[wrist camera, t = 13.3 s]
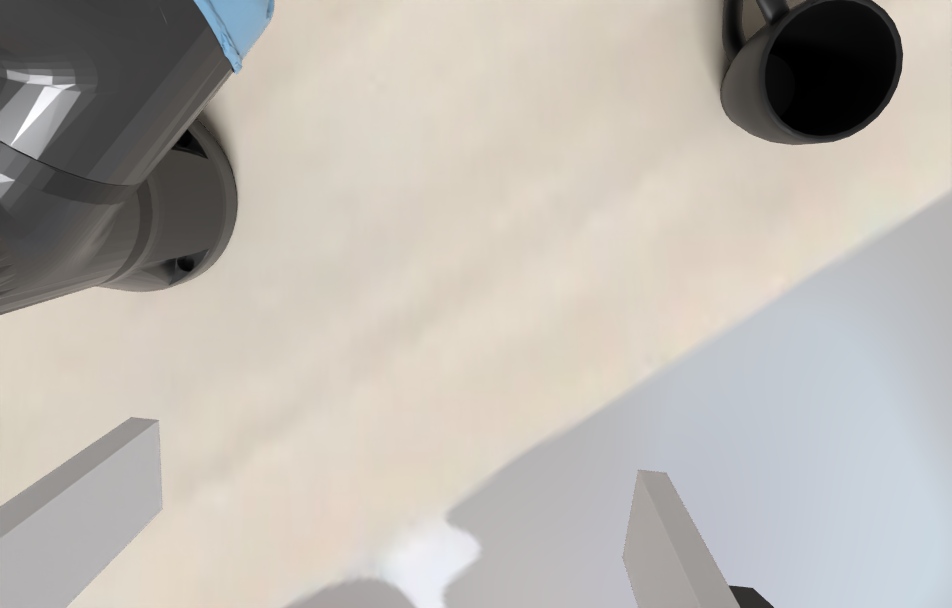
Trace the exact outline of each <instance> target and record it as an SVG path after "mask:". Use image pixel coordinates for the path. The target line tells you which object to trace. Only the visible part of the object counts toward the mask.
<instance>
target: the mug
mask: <svg viewBox="0 0 952 608" xmlns="http://www.w3.org/2000/svg"><path fill="white" fill-rule="evenodd" d="M756 2H757V4H758V6H759V8H760V10H761V12H762V14H763V16H764V18H765V20H766V23H767V24H766V25H764V26H763V27H762V28H761V29H760V30H759V31H758V32H757V33H756V34H754V35H753V36H752V37H751V38H750V39H749V40H748V41H747V42H746V40H745V37H744V34H743V29H742V8H743V0H724V8H723V26H722V38H723V46H724V50H725V53H726V55H727V57H728V59H729V61H730V62H731V66H730V68H729V70H728V71H727V72H726V75H725V77H724V79H723V82H722V86H721V103H722V107H723V109H724V111H725V113H726V115H727V116H728V117H729V119H730V120H731V121H732V122H734V123H735V124H736V125H738V126H740V127H741V128H742V129H744V130H745V131H747V132H748V133H750V134H752V135H754V136H756V137H759V138H762V139H764V140H767V141H770V142H775V143H782V144H790V145H802V144H815V143H826V142H834V141H837V140H841V139H844V138H847V137H850V136H851V135H853V134H855V133H857V132H858V131H860V130H862V129H864V128H865V127H866V126H867V125H869V124H870V123H871V122H872V121H873V120H874V119H876V118H877V117H878V116H879V115H880V113H881V112H882V111H883V110H884V108H885V107H886V106H887V104H888V103H889V102H890V100H891V98H892V96H893V94H894V92H895V90H896V88H897V86H898V82H899V79H900V75H901V72H902V61H903V50H902V44H901V37H900V35H899V33H898V30H897V28H896V25H895V23H894V22H893V20H892V19H891V18H890V16H889V15H888V14H887V12H886V11H885V10H884V9H883V8H881V7H880V6H879V5H877V4H876V3H875V2H873V1H872V0H806V1H805V2H803V3H801V4H799V5H797V6H795V7H793V8H792V9H790V10H789V7H788V5H787V2H786V0H756Z"/></svg>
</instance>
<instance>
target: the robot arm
mask: <svg viewBox="0 0 952 608" xmlns="http://www.w3.org/2000/svg"><path fill="white" fill-rule="evenodd" d="M273 12H274V0H0V315H2V314H5V313H9V312H12V311H15V310H19V309H22V308H25V307H28V306H32V305H35V304H38V303H42V302H45V301H48V300H51V299H55V298H58V297H61V296H65V295H68V294H71V293H75V292H78V291H81V290H84V289H88V288H91V287H94V286H97V287H104V288H110V289H117V290H124V291H132V292H148V291H157V290H163V289H167V288H170V287H173V286H176V285H178V284H181V283H184V282H187V281H189V280H191V279H193V278H195V277H197V276H199V275H200V274H202V273H203V272H205V271H206V270H207V269H208V268H210V267H211V266H212V265H213V264H214V263H215V262H216V261H217V259H218V258H219V257H220V256H221V254H222V253H223V251H224V250H225V248H226V246H227V244H228V242H229V240H230V238H231V235H232V232H233V229H234V225H235V220H236V212H237V195H236V188H235V182H234V178H233V174H232V171H231V168H230V166H229V163H228V161H227V159H226V157H225V155H224V153H223V151H222V149H221V148H220V146H219V145H218V143H217V142H216V140H215V139H214V138H213V136H212V135H211V134H210V133H209V131H208V130H207V129H206V128H205V127H204V126H203V125H202V124H201V123H200V122H199V121H197V120H196V117H197V116H198V115H199V114H200V112H201V111H202V110H203V109H204V107H205V106H206V105H207V104H208V102H209V101H210V100H211V99H212V98H213V96H214V95H215V94H216V93H217V91H218V90H219V89H220V88H221V86H222V85H223V84H224V83H225V81H226V80H227V79H228V78H229V76H230V75H231V74H232V73H233V72H234V73H235V74H237V73H238V72H239V71H240V70H241V68H242V60H243V59H244V57H245V56H246V54H247V53H248V52H249V50H250V49H251V48H252V46H253V45H254V43H255V42H256V41H257V39H258V38H259V37H260V35H261V34H262V33H263V31H264V30H265V28H266V27H267V26H268V24H269V22H270V20H271V18H272V16H273ZM161 510H162V487H161V462H160V438H159V420H153V419H143V418H133V417H131V418H129V419H128V420H126V421H125V422H124V423H122V424H121V425H119V426H118V427H116V428H115V429H113V430H112V431H110V432H109V433H107V434H106V435H105V436H103V437H102V438H100V439H99V440H97V441H96V442H94V443H93V444H91V445H90V446H88V447H87V448H85V449H84V450H83V451H81V452H80V453H78V454H77V455H75V456H74V457H72V458H71V459H69V460H68V461H66V462H65V463H63V464H62V465H61V466H59V467H58V468H56V469H55V470H53V471H52V472H50V473H49V474H47V475H46V476H44V477H43V478H42V479H40V480H39V481H37V482H36V483H34V484H33V485H31V486H30V487H28V488H27V489H25V490H24V491H22V492H21V493H20V494H18V495H17V496H15V497H14V498H12V499H11V500H9V501H8V502H6V503H5V504H3V505H2V506H1V507H0V608H66V607H67V606H68V605H69V604H70V603H71V602H72V601H73V600H74V599H75V598H76V597H77V596H78V595H79V594H80V593H81V592H82V591H83V590H84V589H85V588H86V586H87V585H88V584H89V583H90V582H91V581H92V580H93V579H94V578H95V577H96V576H97V575H98V574H99V573H100V572H101V571H102V570H103V569H104V568H105V567H106V566H107V565H108V564H109V563H110V562H111V561H112V560H113V559H114V558H115V557H116V556H117V555H118V554H119V553H120V552H121V551H122V550H123V549H124V548H125V547H126V546H127V545H128V544H129V543H130V542H131V541H132V540H133V539H134V538H135V537H136V536H137V535H138V533H139V532H140V531H141V530H142V529H143V528H144V527H145V526H146V525H147V524H148V523H149V522H150V521H151V520H152V519H153V518H154V517H155V516H156V515H157V514H158V513H159V512H160V511H161ZM622 558H623V561H624V564H625V568H626V571H627V574H628V577H629V580H630V583H631V587H632V590H633V593H634V596H635V599H636V602H637V605H638V608H774V607H773V606H772V605H771V604H770V603H769V602H768V601H766V600H765V599H764V598H763V597H762V596H761V595H760V594H759V593H758V592H757V591H755V590H754V589H753V588H748V587H738V586H728V584H727V582H726V581H725V579H724V577H723V575H722V573H721V571H720V570H719V568H718V566H717V564H716V562H715V561H714V559H713V557H712V555H711V553H710V552H709V550H708V548H707V546H706V544H705V542H704V540H703V539H702V537H701V535H700V533H699V531H698V529H697V528H696V526H695V524H694V522H693V521H692V519H691V517H690V515H689V513H688V511H687V510H686V508H685V506H684V504H683V502H682V500H681V498H680V497H679V495H678V493H677V491H676V490H675V488H674V486H673V484H672V482H671V480H670V478H669V477H668V475H667V473H663V472H655V471H645V470H638V473H637V478H636V484H635V490H634V495H633V501H632V506H631V512H630V518H629V524H628V529H627V535H626V540H625V546H624V552H623V557H622Z"/></svg>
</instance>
